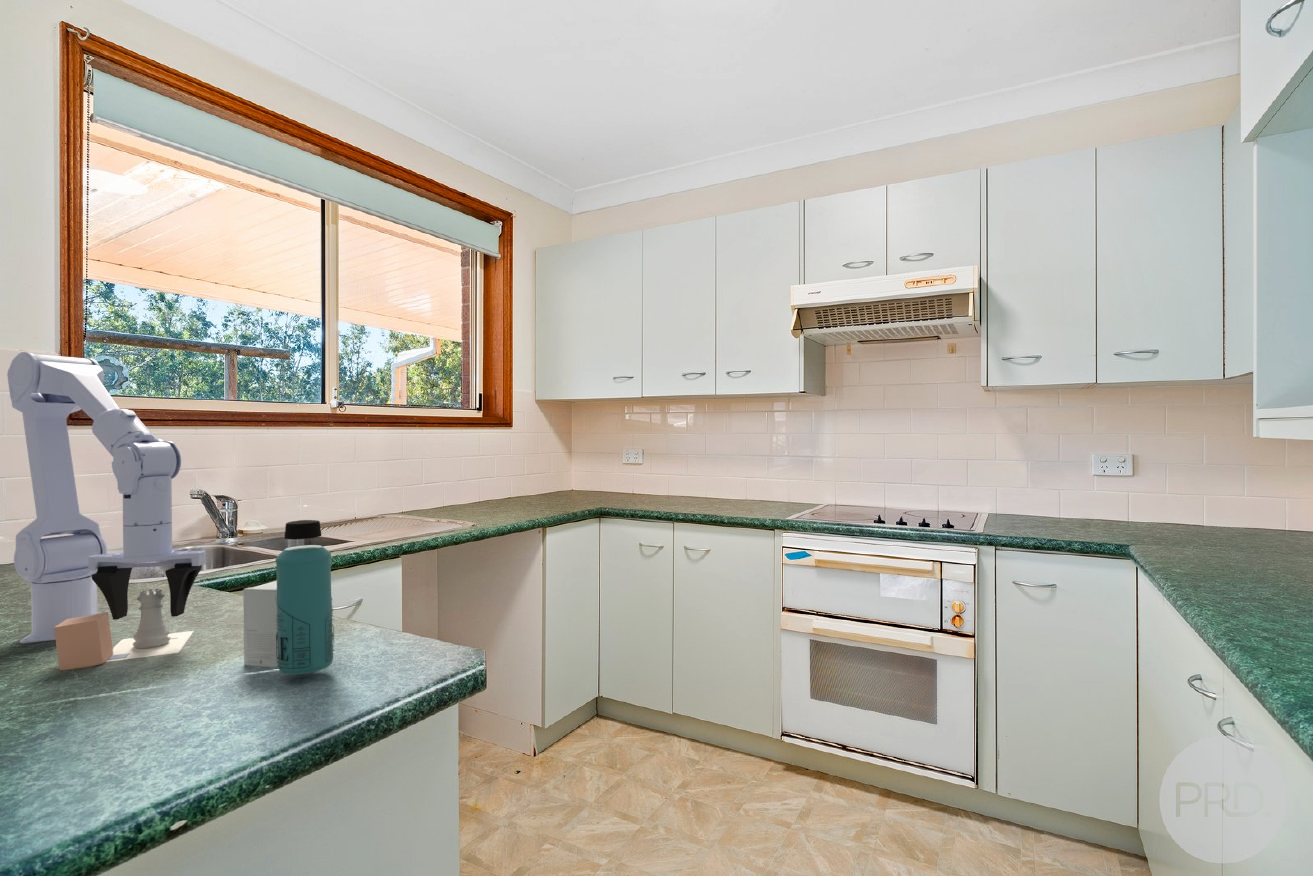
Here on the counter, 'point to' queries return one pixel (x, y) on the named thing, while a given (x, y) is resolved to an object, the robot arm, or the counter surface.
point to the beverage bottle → (304, 603)
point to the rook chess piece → (151, 621)
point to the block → (83, 641)
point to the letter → (128, 651)
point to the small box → (260, 625)
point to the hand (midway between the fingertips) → (149, 616)
